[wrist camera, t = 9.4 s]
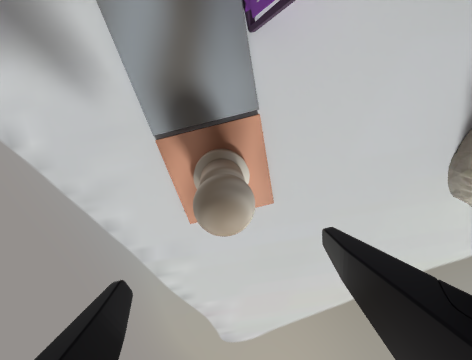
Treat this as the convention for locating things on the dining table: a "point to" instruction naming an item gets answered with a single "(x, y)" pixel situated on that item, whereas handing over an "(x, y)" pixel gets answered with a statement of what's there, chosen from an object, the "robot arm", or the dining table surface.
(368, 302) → the robot arm
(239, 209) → the pawn
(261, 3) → the game card
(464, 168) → the sand castle
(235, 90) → the game board
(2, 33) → the dining table surface
